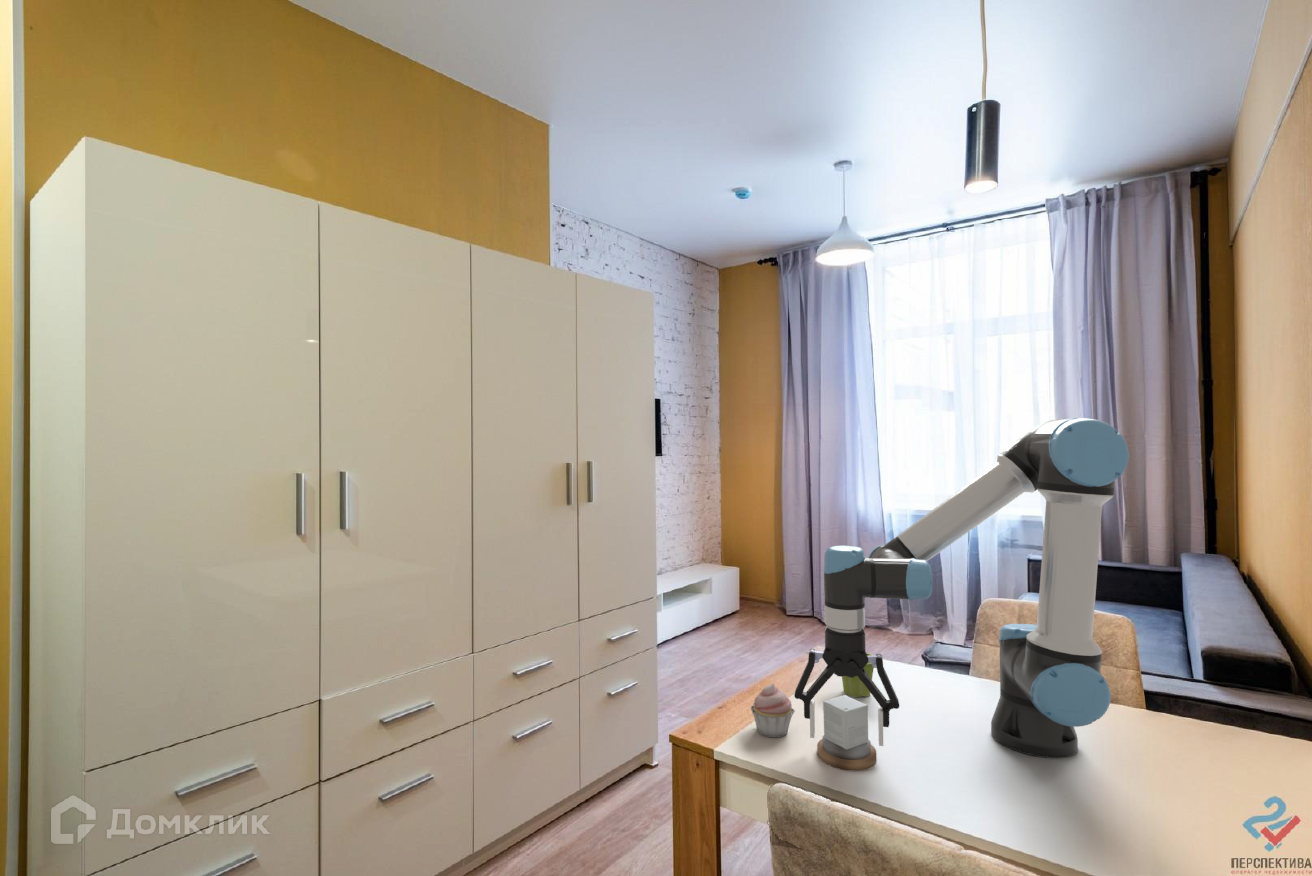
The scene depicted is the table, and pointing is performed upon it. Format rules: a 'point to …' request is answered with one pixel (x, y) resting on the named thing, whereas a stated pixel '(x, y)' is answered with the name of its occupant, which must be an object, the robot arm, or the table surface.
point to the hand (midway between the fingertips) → (846, 738)
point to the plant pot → (857, 683)
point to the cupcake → (772, 712)
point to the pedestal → (846, 755)
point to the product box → (845, 722)
